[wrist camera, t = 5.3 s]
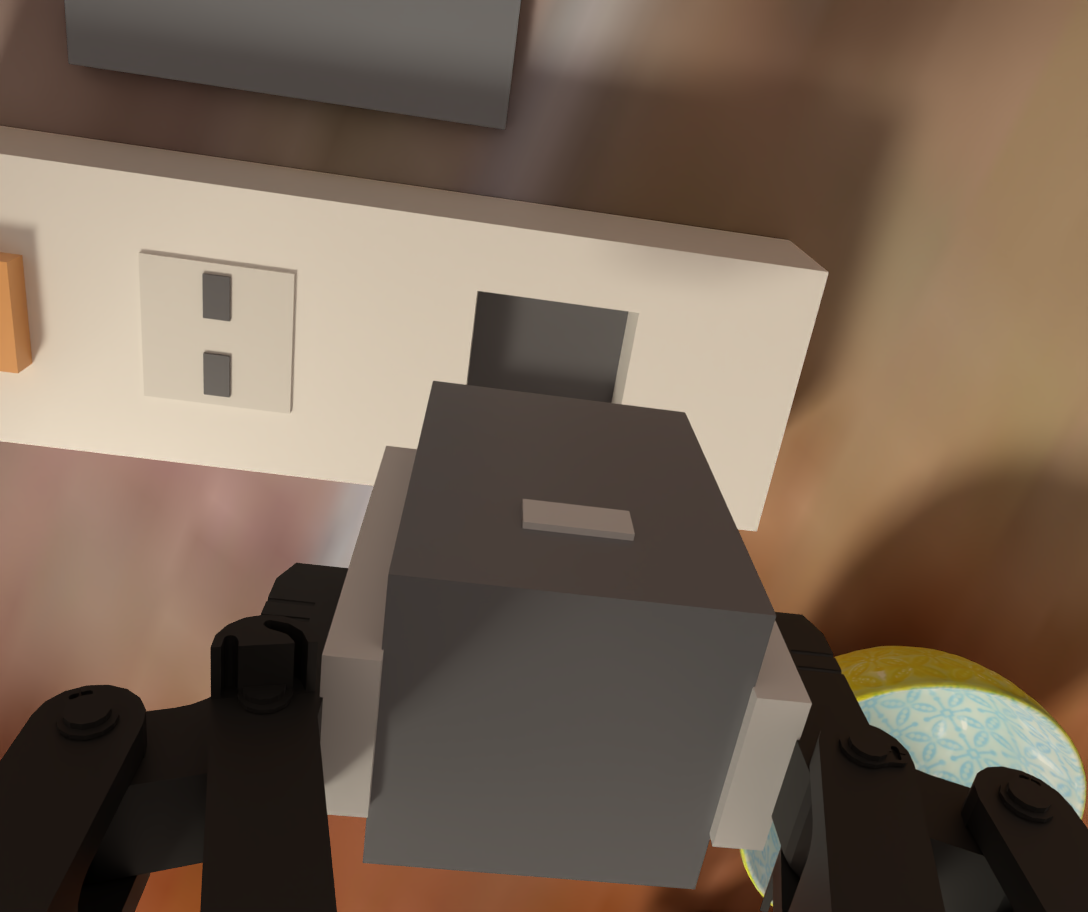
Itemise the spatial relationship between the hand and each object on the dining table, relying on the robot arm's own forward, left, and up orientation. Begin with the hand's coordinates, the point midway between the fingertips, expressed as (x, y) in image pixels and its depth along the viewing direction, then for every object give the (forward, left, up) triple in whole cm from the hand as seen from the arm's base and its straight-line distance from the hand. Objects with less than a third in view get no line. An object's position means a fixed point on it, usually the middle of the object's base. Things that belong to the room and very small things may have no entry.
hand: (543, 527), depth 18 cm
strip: (-8, 0, -12) cm, 15 cm away
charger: (0, 0, -3) cm, 3 cm away
